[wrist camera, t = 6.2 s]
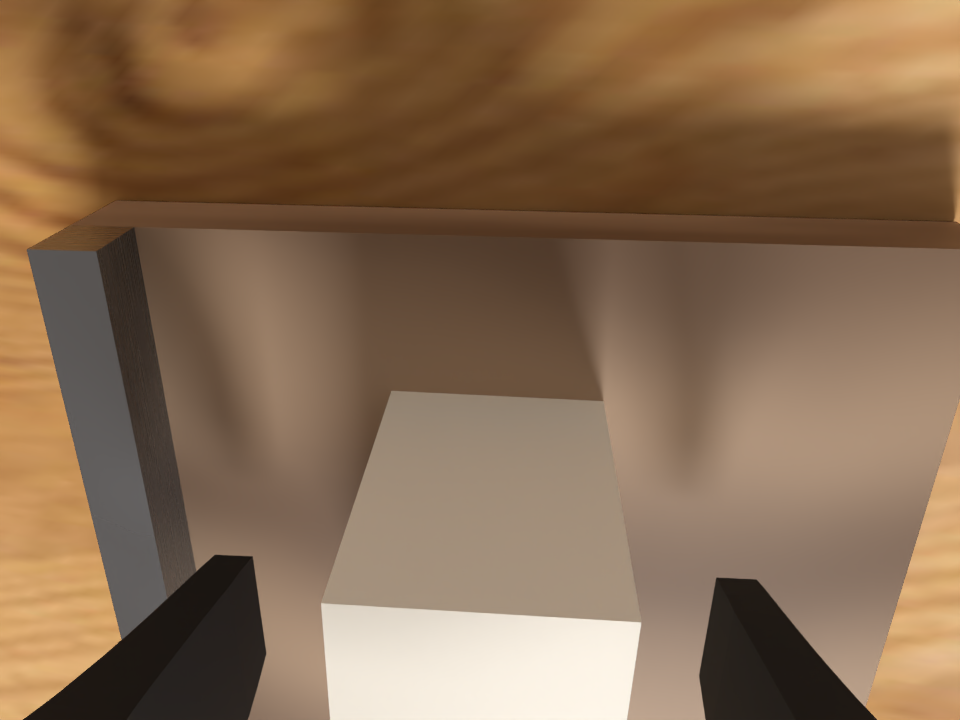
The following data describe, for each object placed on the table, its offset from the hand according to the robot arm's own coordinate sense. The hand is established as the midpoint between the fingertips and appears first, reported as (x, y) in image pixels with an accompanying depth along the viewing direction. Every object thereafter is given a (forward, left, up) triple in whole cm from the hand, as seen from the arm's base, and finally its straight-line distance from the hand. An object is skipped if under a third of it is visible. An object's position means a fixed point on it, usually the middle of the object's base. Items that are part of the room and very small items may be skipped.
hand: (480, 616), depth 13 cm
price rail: (+5, -4, -2) cm, 6 cm away
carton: (0, 0, -2) cm, 2 cm away
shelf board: (0, 0, -4) cm, 4 cm away
